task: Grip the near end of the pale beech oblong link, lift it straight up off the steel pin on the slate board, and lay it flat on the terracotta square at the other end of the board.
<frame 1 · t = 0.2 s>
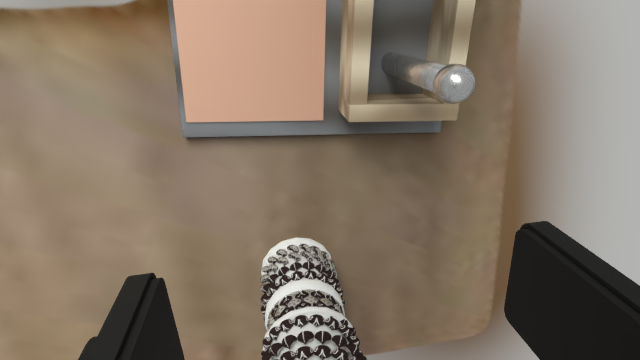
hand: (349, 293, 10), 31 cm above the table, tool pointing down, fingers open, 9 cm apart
pin stand: (318, 21, 36), on the table
link: (394, 23, 37), point 1 cm above the table, touching pin stand
decorative candle: (296, 267, 47), on the table
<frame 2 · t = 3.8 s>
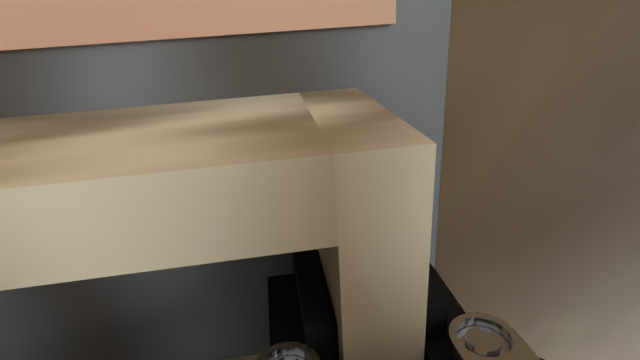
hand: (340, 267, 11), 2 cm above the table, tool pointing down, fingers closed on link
pin stand: (19, 25, 9), on the table
link: (87, 287, 11), point 1 cm above the table, touching gripper
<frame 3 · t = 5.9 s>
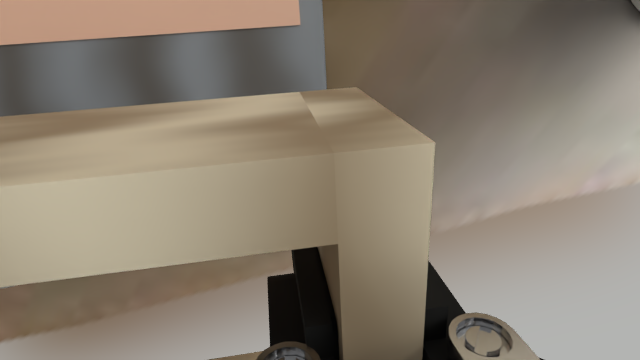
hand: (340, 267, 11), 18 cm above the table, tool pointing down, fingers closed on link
pin stand: (154, 25, 25), on the table
link: (88, 285, 11), point 17 cm above the table, touching gripper
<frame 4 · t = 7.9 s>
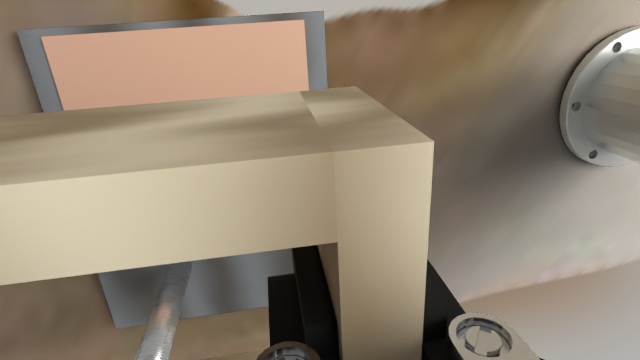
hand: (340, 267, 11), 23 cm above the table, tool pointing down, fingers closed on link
pin stand: (209, 183, 34), on the table
link: (89, 283, 11), point 22 cm above the table, touching gripper
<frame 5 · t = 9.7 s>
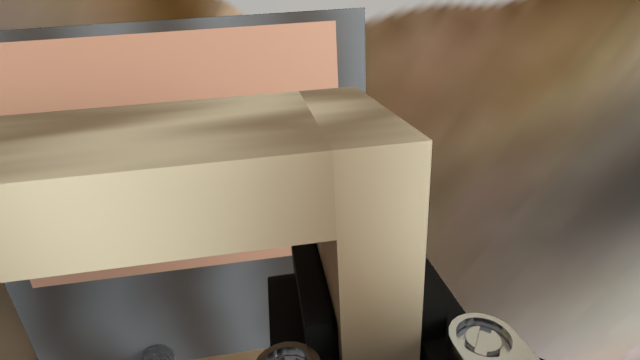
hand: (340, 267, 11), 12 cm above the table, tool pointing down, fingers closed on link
pin stand: (196, 249, 24), on the table
link: (89, 282, 11), point 11 cm above the table, touching gripper
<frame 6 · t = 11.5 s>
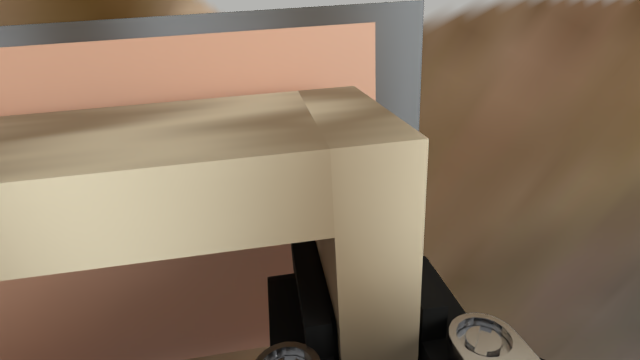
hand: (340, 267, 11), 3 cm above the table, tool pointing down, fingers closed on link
link: (91, 281, 12), point 2 cm above the table, touching gripper
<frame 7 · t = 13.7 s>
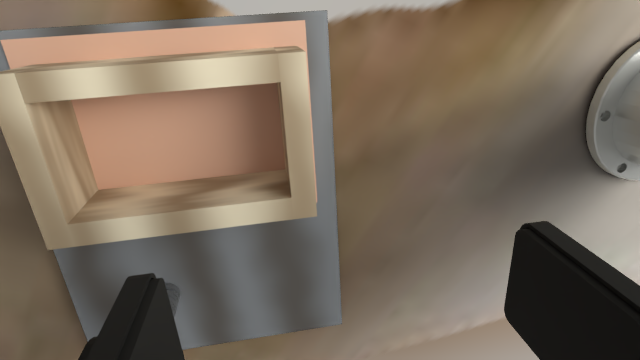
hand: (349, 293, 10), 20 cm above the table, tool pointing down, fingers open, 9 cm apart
pin stand: (198, 204, 30), on the table
link: (185, 131, 27), point 1 cm above the table, touching pin stand
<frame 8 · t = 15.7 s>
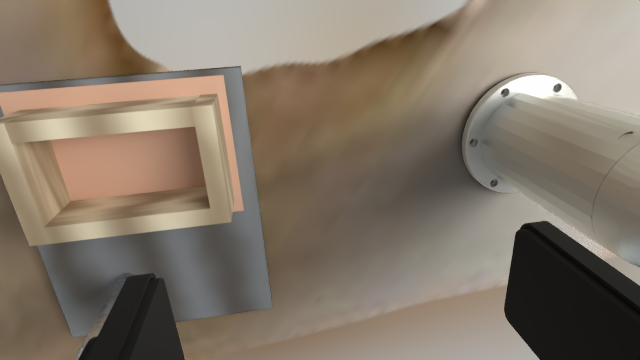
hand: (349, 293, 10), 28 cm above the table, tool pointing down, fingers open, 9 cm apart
pin stand: (150, 211, 39), on the table
link: (135, 157, 35), point 1 cm above the table, touching pin stand
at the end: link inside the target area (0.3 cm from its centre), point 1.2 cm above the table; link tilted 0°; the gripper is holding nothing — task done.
